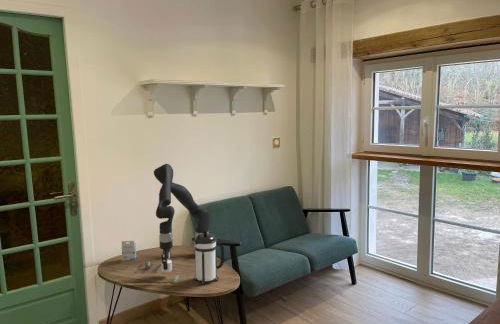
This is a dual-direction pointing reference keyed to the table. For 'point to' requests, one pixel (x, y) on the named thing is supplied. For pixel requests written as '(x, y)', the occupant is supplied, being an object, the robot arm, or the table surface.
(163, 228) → the robot arm
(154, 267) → the post base
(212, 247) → the coffee press
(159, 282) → the sage mat
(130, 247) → the ink box
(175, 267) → the table surface
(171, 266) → the cap
